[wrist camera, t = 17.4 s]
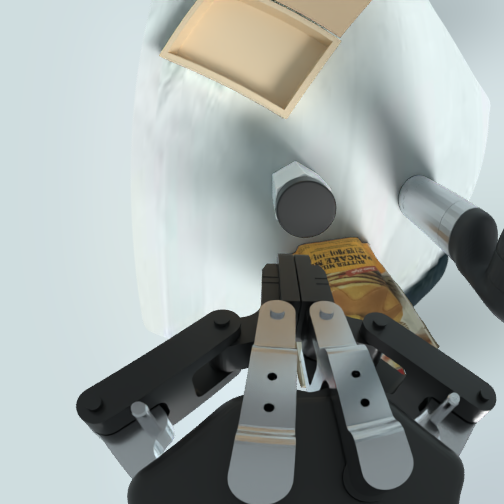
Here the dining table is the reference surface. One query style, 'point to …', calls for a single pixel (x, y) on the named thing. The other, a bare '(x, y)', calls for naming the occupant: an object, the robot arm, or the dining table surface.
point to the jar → (302, 201)
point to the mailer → (252, 49)
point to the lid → (329, 12)
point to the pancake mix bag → (361, 287)
